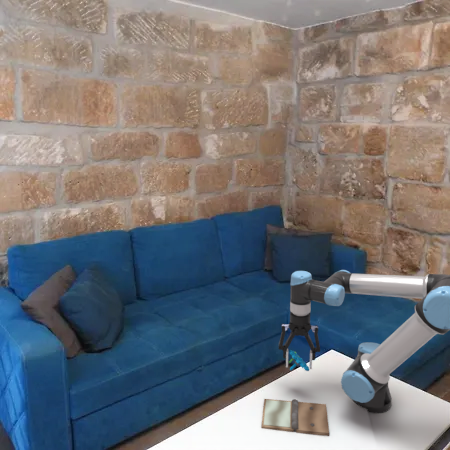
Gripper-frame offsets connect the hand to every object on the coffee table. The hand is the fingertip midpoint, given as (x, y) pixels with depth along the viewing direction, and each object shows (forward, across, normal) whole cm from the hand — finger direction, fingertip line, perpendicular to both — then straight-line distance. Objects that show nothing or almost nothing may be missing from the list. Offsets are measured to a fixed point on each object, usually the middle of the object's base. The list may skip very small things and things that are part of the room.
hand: (298, 366), depth 168 cm
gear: (+2, -2, 0) cm, 3 cm away
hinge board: (+12, +1, +15) cm, 19 cm away
